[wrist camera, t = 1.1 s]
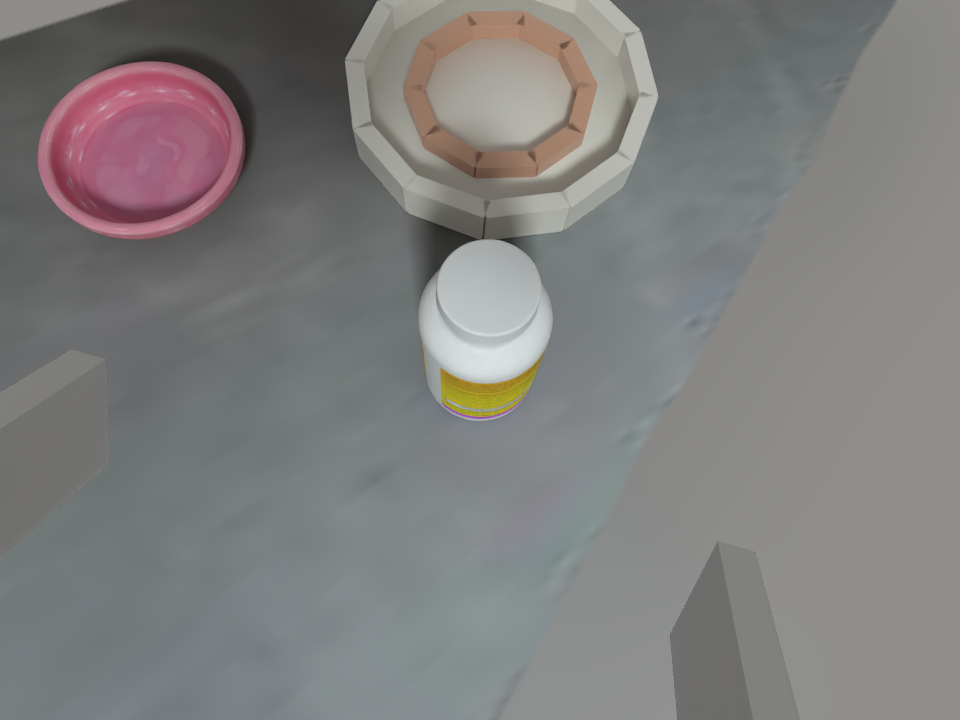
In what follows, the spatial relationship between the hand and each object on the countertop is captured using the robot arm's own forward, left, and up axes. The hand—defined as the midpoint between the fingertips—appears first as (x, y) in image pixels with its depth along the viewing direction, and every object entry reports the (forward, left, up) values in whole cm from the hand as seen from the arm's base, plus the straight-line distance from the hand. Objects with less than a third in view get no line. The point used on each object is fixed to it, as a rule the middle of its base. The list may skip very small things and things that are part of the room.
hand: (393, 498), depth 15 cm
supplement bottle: (-6, +9, -26) cm, 28 cm away
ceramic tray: (-20, +22, -26) cm, 40 cm away
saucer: (-30, +1, -26) cm, 40 cm away
